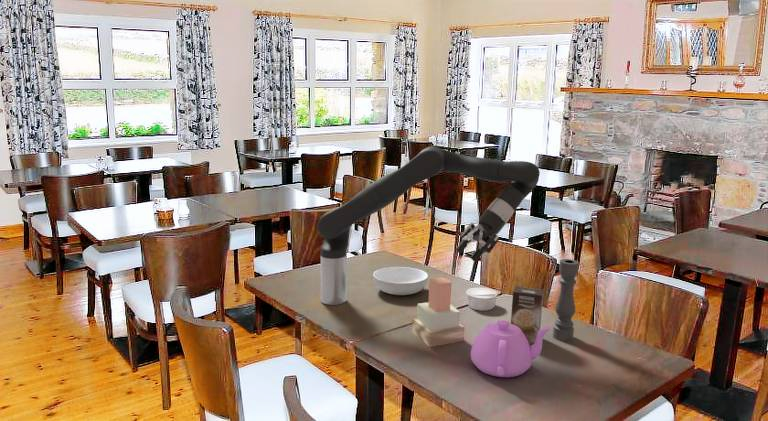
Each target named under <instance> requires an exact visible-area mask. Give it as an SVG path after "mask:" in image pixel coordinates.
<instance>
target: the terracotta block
mask: <svg viewBox="0 0 768 421" xmlns="http://www.w3.org/2000/svg"><path fill="white" fill-rule="evenodd" d="M428 279H429V282H428V283H429V284H428V301H427V303H428V306H429V307H430V308H431V309H433V310H434V311H435V312H439V311H445V310H450V304H451V302H452V300H451V298H452V297H451V296H452V283H453V282H452V281H450V280H449V279H447V278H445V276H444V277H436V278H428Z"/></svg>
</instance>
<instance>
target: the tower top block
mask: <svg viewBox="0 0 768 421" xmlns="http://www.w3.org/2000/svg"><path fill="white" fill-rule="evenodd" d="M416 307H417V309H416V318H417V319H418V320H419V321H420V322H421V323H422V324H423V325H424V326H425V327H426V328H427V329H428V330H437V329H445V328H453V327H459V324H460V310H459V309H457V308H456V307H455V306H454V305H453V304H452V303H450V310H445V311H439V312H435V311H434V310H433V309H431V308H430V307H429V306H428V302H422V303H421V302H420V303H417V306H416Z"/></svg>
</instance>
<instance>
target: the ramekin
mask: <svg viewBox="0 0 768 421" xmlns="http://www.w3.org/2000/svg"><path fill="white" fill-rule="evenodd" d="M465 295H466V302H467V306H468V307H469V308H471V309H472V310H475V311H481V312H485V311H490V310H493V308H495V306H496V302H497V298H498V293H497V291H496V290H494V289H491V288H487V287H472V288H471V287H470V288H468V289H467V290H466V291H465Z"/></svg>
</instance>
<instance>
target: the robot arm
mask: <svg viewBox="0 0 768 421" xmlns="http://www.w3.org/2000/svg"><path fill="white" fill-rule="evenodd" d="M443 172H444V173H457V174H462V175H466V176H469V177H472V178H475V179H479V180H481V181H482V180H483V181H487V182H493V183H501V184H502V183H503V184H504V183H506V182H511V183H510V184H509V185H507V186H506V187H504V188H503V189H502V190H501V192H499V194H498V195H497V196H496V198H495V199H494V200H493V201H492V202H491V203H490V204H489V205H488V207H487V209H485V211H484V212H483V213H482V215H481V216H479V218H478V224H477V225H475V224H474V223H473V222H470V223H469V225H468V226H467V227H466V228H465V229H464V231H463V232H462V233H461V234H460V236H459V237H460V238H461V241H460V243H459V244H458V245H457V246H456V248H455V251H456V252H457V253H458V254H462V253H463V252H464V251H465V249H466V248H467V247H468V245H469V244H471V243H475V242H477V243H479V244H478V248H476V250H474V252H473V253H472V255H471V256H470V259H471V261H472V262H478V260H479V259H480V258H481V257H482V256H483V254H485V253H488V254H490V253H491V252H492V250H493V249H494V248H495V247H496V245H497V243H498V242H499V240H501V239H500V237H499V235H498V234H499V233H500V232H501V231H502V230H503V228H504V227H505V225H506V224H507V223H508V221H509V220H510V219H511V217H512V216H513V214H514V213H515V211H516V210H517V208H519V206H520V205H521V203H522V202H523V200H524V199H525V198H527V197H528V195H529V194H531V192H532V191H533V190H534V189H535V187H536V186H537V185H538V184H539V183H538V182H539V178H540V174H541V173H540V169H539V167H538V165H536V164H535V163H532V162H530V161H523V160H522V161H521V160H520V161H519V160H518V161H517V160H516V161H514V160H513V161H512V160H511V161H504V160H499V159H492V158H485V157H477V156H469V155H465V154H460V153H456V152H453V151H450V150H446V149H443V148H441V147H438V146H436V145H435V146H433V145H431V146H427V147H425V148H424V149H422V150H421V151H420V152H419V153H417V155H416V156H414V157H413V158H411V160H409V161H408V162H407V163H406V164H404V165H403V166H401V167H400V168H398V169H396V170H395V171H392V172H389V173H386V174H385V175H383V176H381V177H379V178H378V179H376V180H374V182H371V183H370V184H369V185H367V186H366V187H365V188H363V189H361V191H359V192H357V193H356V194H355V195H354V196H353V197H351V199H349V200H348V201H347V202H346V203H344V204H342V205H341V206H339V207H337V208H335V209H331V210H329V211H328V212H326V213H324V214H323V215H321V217H319V219H318V222H317V225H316V230H317V232H318V235H320V236H321V237H322V238H323V242H322V245H321V247H320V302H321V303H322V304H324V305H329V306H337V305H338V306H339V305H341V304H344V303H346V302H347V251H348V246H349V237H350V236H349V234H350V233H349V232H350V227H351V226H353V225H354V224H355V223H357V222H359V221H361V220H363V219H365V218H367V217H369V216H371V215H374V214H376V213H377V212H379V211H380V210H383V209H384V208H386V207H387V206H389V205H390V204H392V203H394V202H395V201H396V200H398V199H399V198H400V197H402V196H403V195H404V194H406V193H407V191H408V190H410V189H411V188H412V187H414V186H416V185H418V184H420V183H422V182H424V181H425V180H427V179H430V178H432V177H434V176H436V175H438V174H439V173H443Z"/></svg>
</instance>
